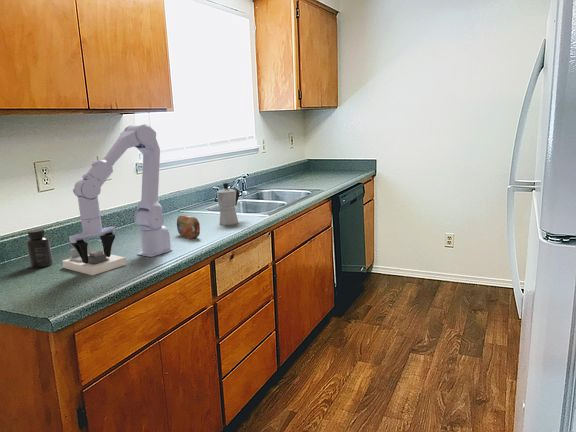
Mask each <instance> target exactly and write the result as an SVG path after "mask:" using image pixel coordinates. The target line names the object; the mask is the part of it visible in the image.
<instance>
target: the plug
mask: <svg viewBox="0 0 576 432" xmlns="http://www.w3.org/2000/svg"><path fill="white" fill-rule="evenodd" d="M93 251H94V252H91V251H90V252H91V253H89V255H90V256H88V264H92V265H95V264H99V263H102V262H105V261H107V258H106V254H103V253H104V250H103V251H102V250H93Z"/></svg>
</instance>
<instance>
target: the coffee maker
mask: <svg viewBox="0 0 576 432" xmlns="http://www.w3.org/2000/svg"><path fill="white" fill-rule="evenodd" d="M222 184H223V185H222V186H223V188H222V189H220V190H217V191H216V192H215V194H216V198H217V202H218V206H219V207H220V211H219V225H220V226H227V227H228V226H235V225H237V224H239V220H238V215H237V211H236V208H235V207H236V206H237V204H238V200H239V198H240V197H239V196H240V192H239V189H238V188H233V187H232V188H229V182H224V183H222Z"/></svg>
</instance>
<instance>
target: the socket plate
mask: <svg viewBox="0 0 576 432" xmlns="http://www.w3.org/2000/svg"><path fill="white" fill-rule="evenodd" d="M94 251H95V250H90V253H91V252H94ZM103 254H104V252H103ZM106 258H107V261H105V262H102V263H99V264H95V265H92V264H88V263H87V264H85V263H83V262H78V261H74V260H70V259H69V258H68V259H64V260H62V268H63V269H67V270H70V271H74V272H78V273H82V274H86V275H89V276H95V275H97V274H101V273H105V272H107V271H111V270H113V269H114V270H115V269H117V268H120V267H124V266H126V265H127V259H126V256H119V255H115V254H110V257H106Z"/></svg>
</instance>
